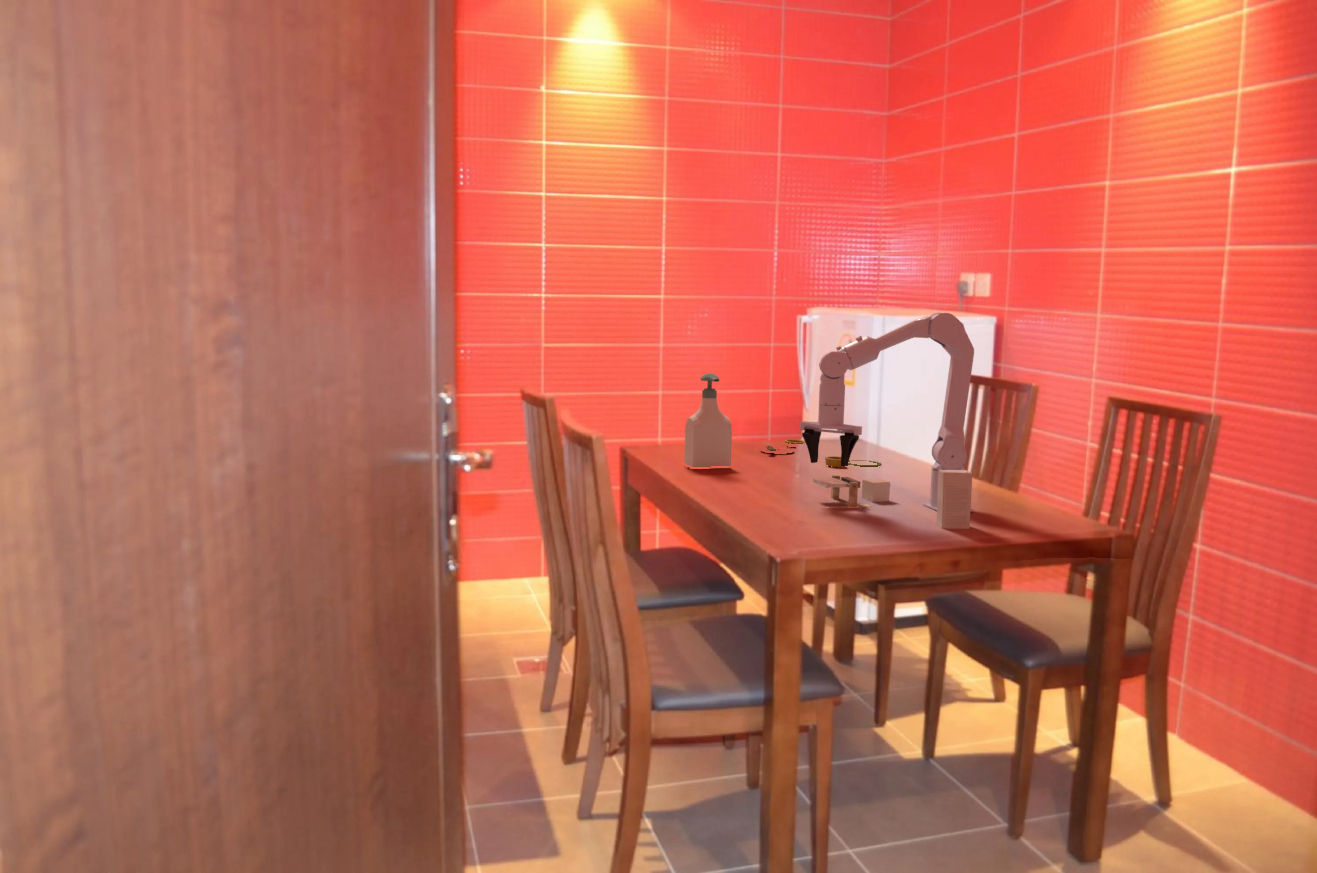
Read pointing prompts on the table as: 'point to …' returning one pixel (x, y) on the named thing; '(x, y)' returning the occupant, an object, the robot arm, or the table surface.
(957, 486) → the skincare box
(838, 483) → the trapdoor
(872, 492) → the beige block
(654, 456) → the table surface
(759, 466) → the table surface
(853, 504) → the frame
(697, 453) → the soap bottle
